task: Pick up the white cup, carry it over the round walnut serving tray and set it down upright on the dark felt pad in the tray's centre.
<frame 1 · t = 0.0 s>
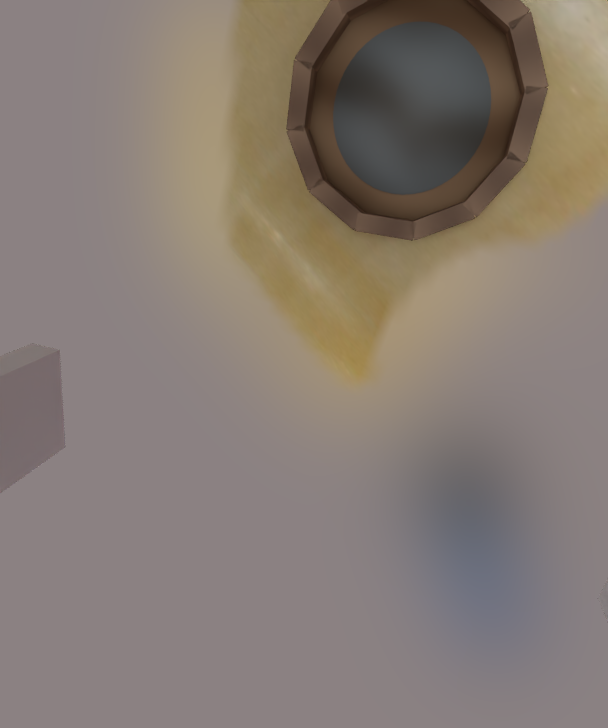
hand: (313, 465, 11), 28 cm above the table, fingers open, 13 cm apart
tray: (409, 115, 33), on the table
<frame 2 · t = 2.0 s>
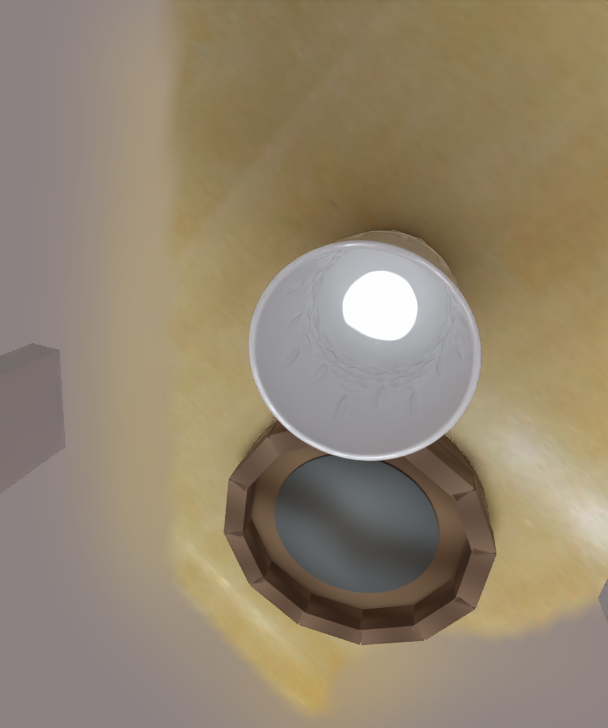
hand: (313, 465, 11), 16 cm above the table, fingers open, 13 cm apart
white cup: (385, 294, 26), on the table
tray: (356, 512, 31), on the table
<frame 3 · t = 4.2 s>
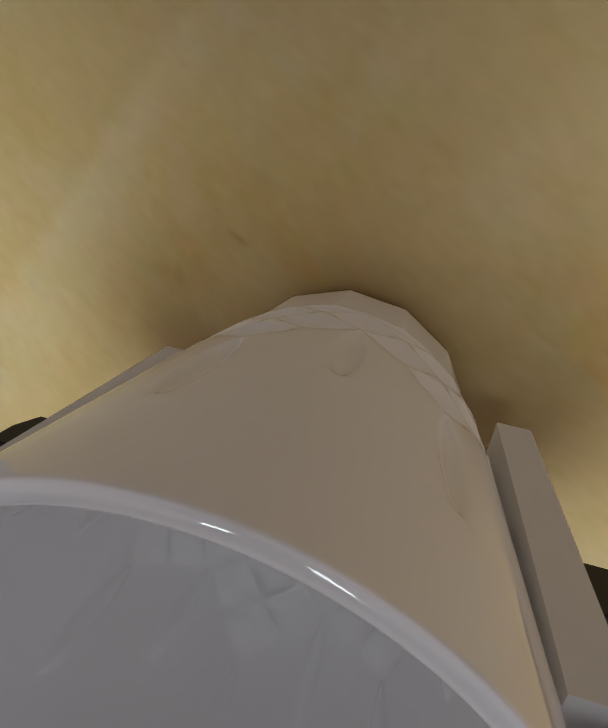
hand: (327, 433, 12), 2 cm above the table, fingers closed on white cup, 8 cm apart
white cup: (340, 402, 14), on the table, touching gripper
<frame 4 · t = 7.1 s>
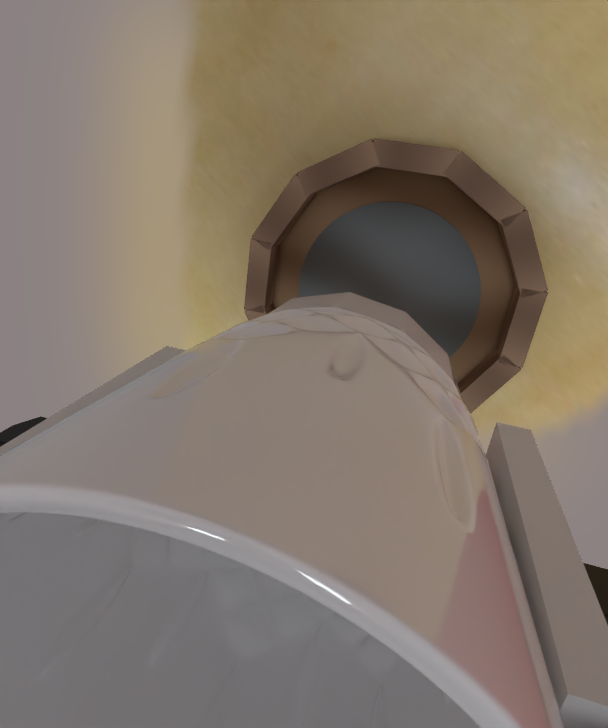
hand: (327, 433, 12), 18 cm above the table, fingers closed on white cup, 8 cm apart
white cup: (340, 404, 14), point 16 cm above the table, touching gripper
tray: (387, 291, 28), on the table
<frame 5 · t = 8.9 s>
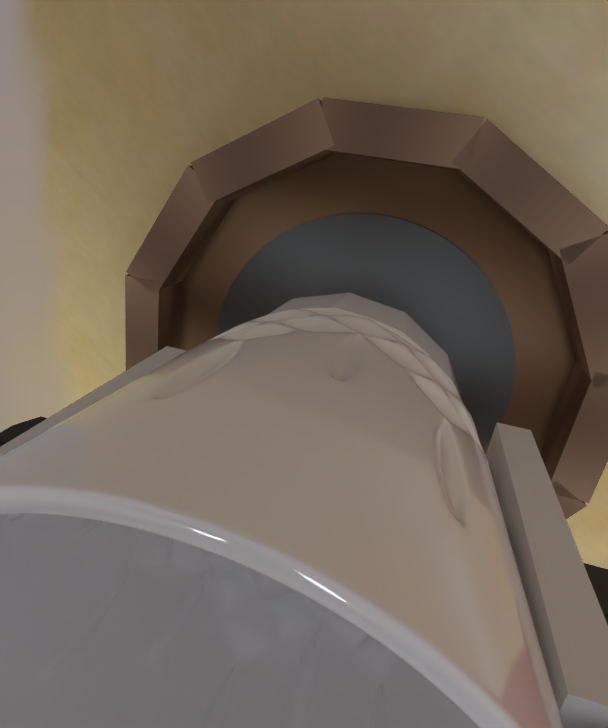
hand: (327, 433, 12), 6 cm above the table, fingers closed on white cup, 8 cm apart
white cup: (340, 404, 14), point 4 cm above the table, touching gripper
tray: (360, 355, 18), on the table
when the fingers open (4 cm above the table, at t = 10.2 s): white cup moves 2 cm, resting on tray.
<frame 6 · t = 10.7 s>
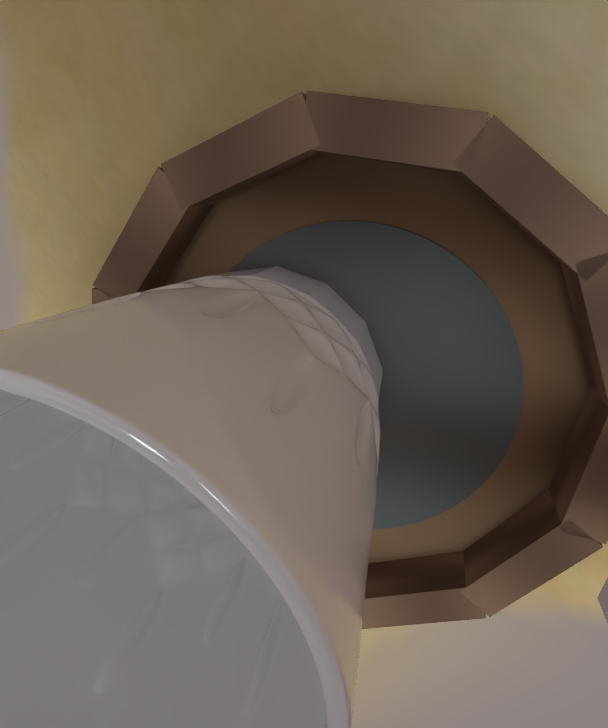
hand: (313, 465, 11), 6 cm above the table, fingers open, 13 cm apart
white cup: (276, 371, 15), point 1 cm above the table, touching tray
tray: (352, 374, 16), on the table
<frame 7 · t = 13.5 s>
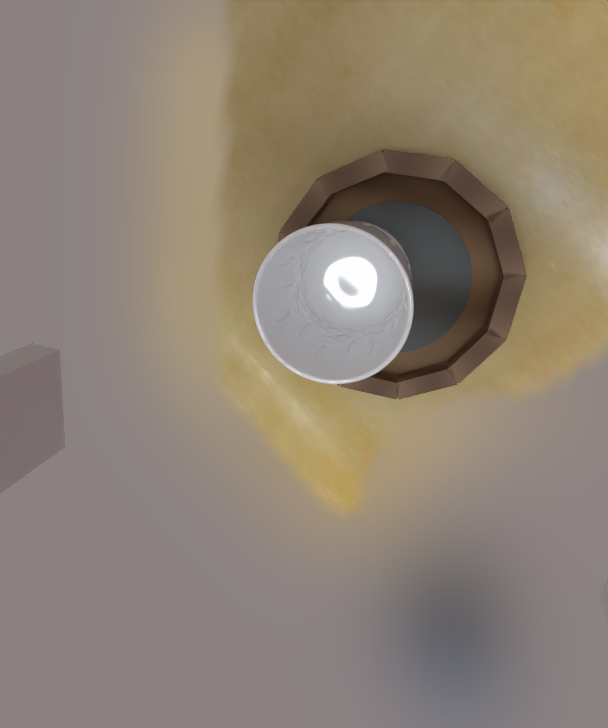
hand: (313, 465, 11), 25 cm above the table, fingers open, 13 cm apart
white cup: (359, 273, 32), point 1 cm above the table, touching tray
tray: (393, 277, 33), on the table
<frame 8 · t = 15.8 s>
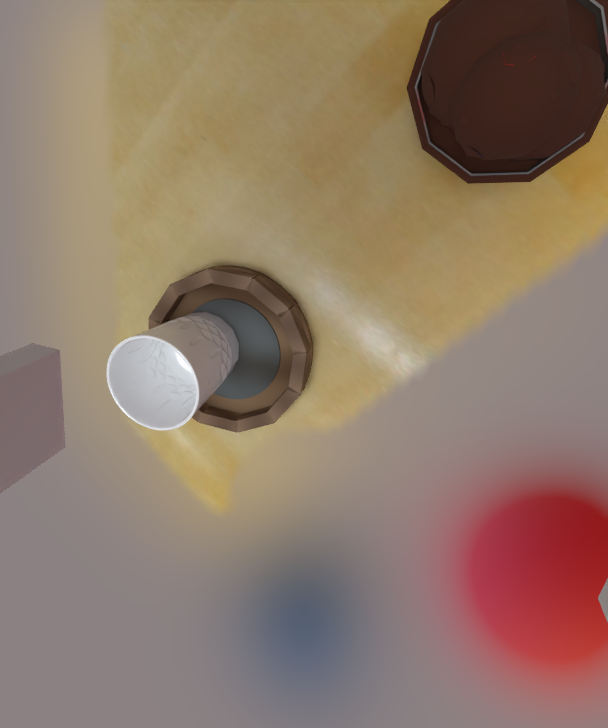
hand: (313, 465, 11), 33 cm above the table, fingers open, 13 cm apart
ice cream bowl: (490, 106, 36), on the table
white cup: (207, 344, 46), point 1 cm above the table, touching tray
tray: (235, 346, 47), on the table
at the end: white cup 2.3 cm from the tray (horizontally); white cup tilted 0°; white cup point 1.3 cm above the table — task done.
